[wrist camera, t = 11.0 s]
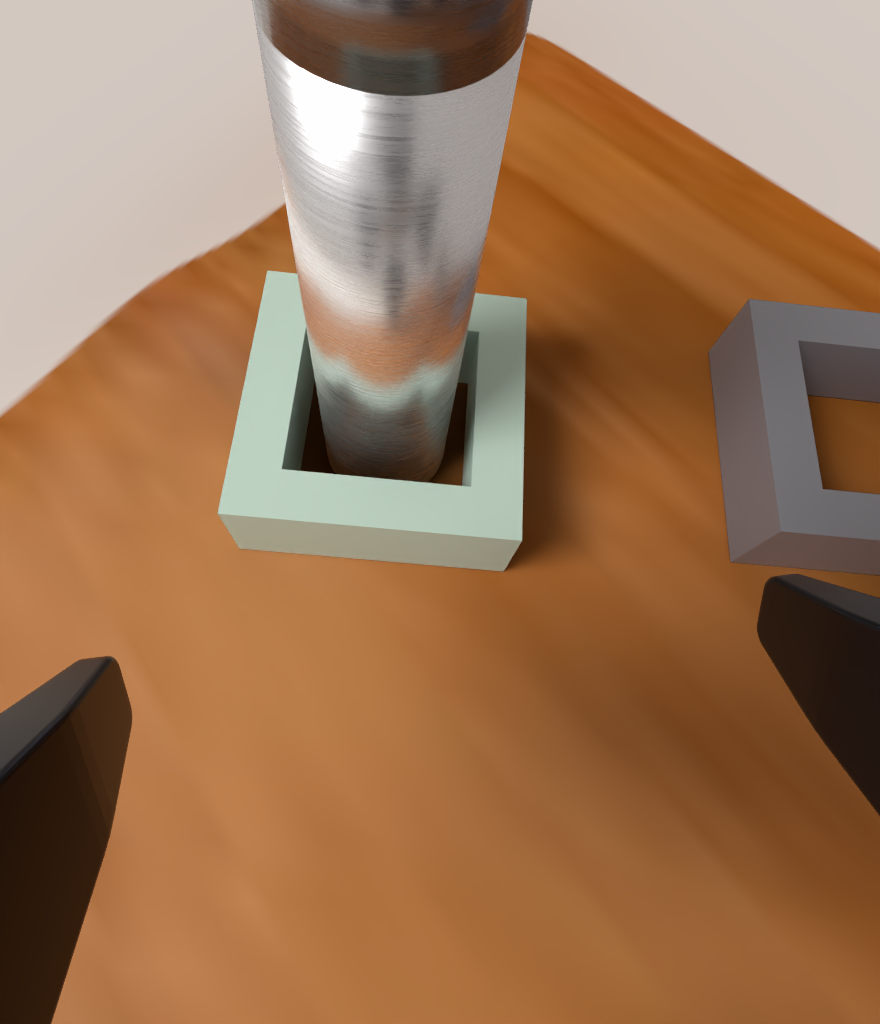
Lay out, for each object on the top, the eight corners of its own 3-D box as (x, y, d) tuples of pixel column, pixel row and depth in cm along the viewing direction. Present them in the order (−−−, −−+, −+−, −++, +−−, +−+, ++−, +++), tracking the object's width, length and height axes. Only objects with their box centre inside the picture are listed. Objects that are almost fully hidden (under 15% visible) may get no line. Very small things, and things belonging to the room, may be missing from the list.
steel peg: (465, 467, 23) (628, -123, 8) (359, 518, 22) (312, -48, 7) (409, 377, 24) (457, -289, 9) (306, 421, 23) (167, -246, 8)
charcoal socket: (971, 583, 22) (1054, 556, 20) (730, 562, 22) (781, 531, 19) (920, 373, 26) (985, 325, 23) (708, 351, 25) (749, 298, 22)
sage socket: (503, 571, 21) (521, 540, 18) (239, 548, 21) (217, 513, 18) (510, 352, 24) (526, 298, 22) (280, 329, 24) (267, 270, 21)
